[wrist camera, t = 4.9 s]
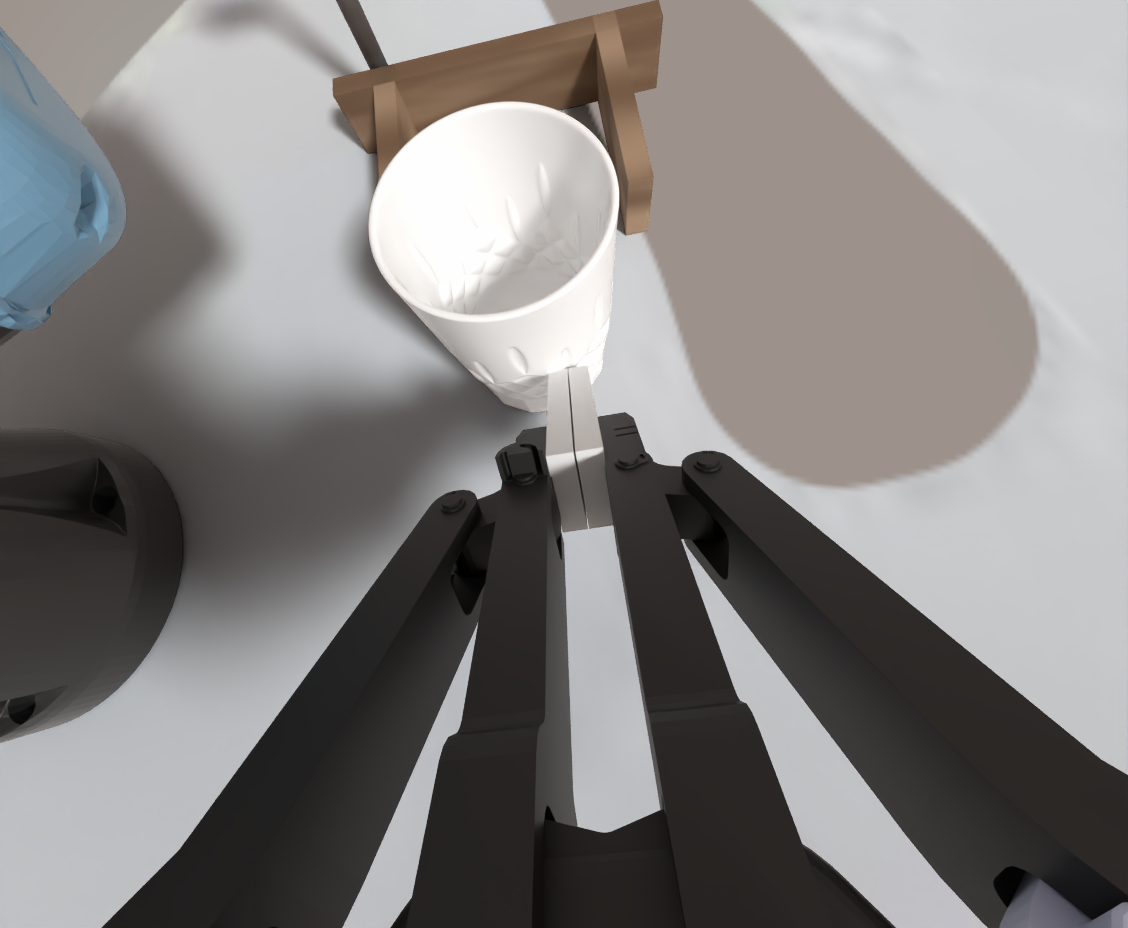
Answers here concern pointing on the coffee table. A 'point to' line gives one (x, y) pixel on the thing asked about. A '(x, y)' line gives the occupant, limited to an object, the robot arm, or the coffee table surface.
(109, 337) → the coffee table surface
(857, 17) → the coffee table surface
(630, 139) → the wooden cup stand
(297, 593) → the coffee table surface
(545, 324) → the white cup
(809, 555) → the robot arm
